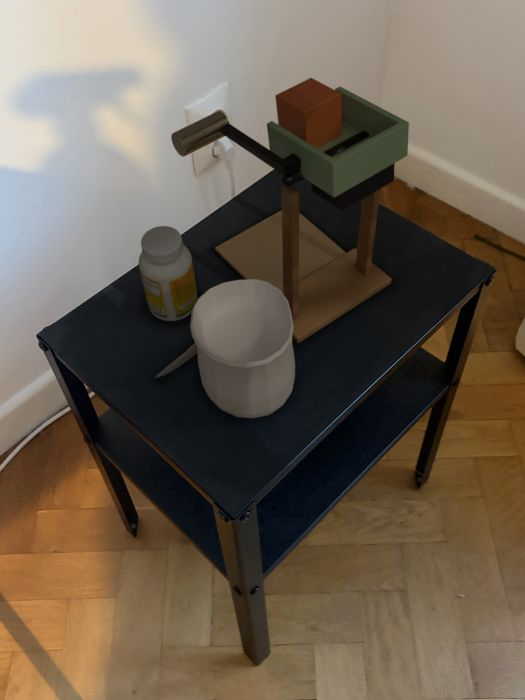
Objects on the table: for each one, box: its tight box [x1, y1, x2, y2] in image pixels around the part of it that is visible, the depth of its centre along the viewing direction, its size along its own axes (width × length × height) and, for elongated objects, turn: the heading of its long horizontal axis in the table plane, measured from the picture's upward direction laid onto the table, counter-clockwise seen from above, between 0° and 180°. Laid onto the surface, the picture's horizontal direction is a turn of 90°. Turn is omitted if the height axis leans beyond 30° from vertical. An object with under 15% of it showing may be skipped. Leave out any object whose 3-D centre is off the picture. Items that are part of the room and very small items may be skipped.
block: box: [275, 77, 342, 148], centre depth 63 cm, size 4×4×4 cm
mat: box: [214, 209, 347, 292], centre depth 82 cm, size 10×11×1 cm
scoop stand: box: [280, 185, 393, 344], centre depth 71 cm, size 6×13×18 cm, turn 127°
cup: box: [189, 279, 296, 419], centre depth 68 cm, size 10×10×10 cm
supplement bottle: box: [138, 225, 199, 322], centre depth 75 cm, size 5×5×10 cm
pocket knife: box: [154, 342, 198, 379], centre depth 74 cm, size 14×1×2 cm, turn 131°
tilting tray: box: [170, 86, 410, 212], centre depth 64 cm, size 15×16×5 cm
